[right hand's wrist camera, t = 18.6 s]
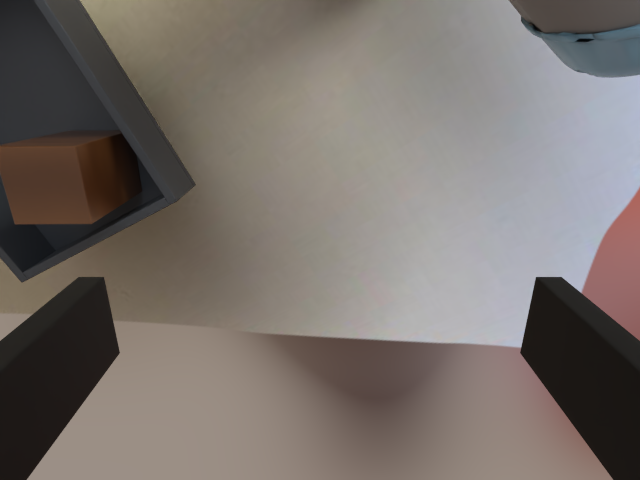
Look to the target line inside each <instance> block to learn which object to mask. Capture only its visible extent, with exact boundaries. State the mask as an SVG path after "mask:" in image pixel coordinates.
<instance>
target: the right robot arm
mask: <svg viewBox="0 0 640 480" xmlns="http://www.w3.org/2000/svg"><path fill="white" fill-rule="evenodd" d="M509 1H510V2H511V3H512V5H513V6H514V7H515V9H516V10H517V11H518V12H519V14H520V15H521V21H522V23H523V24H524V26H525V27H526V29H527V30H528V31H530V32H531V33H532V34H534V35H536V36H538V37H540V38H542V39H543V41H544V42H545V43H546V44H547V45H548V46H549V47H550V48H551V50H552V51H553V52H554V53H555V54H556V55H557V56H558V57H559V58H560V60H561V61H562V62H563V63H564V64H565V65H567V66H568V67H570V68H571V69H573V70H575V71H577V72H582V73H587V74H589V75H594V76H597V77H626V76H634V75H640V0H509ZM119 353H120V352H119V347H118V343H117V338H116V333H115V328H114V323H113V319H112V314H111V309H110V304H109V299H108V295H107V290H106V285H105V280H104V277H78V278H77V279H76V280H75V281H73V282H72V283H71V284H70V285H68V286H67V287H66V288H65V289H63V290H62V291H61V292H60V293H59V294H57V295H56V296H55V297H54V298H52V299H51V300H50V301H49V302H48V303H46V304H45V305H44V306H43V307H41V308H40V309H39V310H38V311H37V312H35V313H34V314H33V315H32V316H30V317H29V318H28V319H27V320H26V321H24V322H23V323H22V324H21V325H19V326H18V327H17V328H16V329H14V330H13V331H12V332H11V333H10V334H8V335H7V336H6V337H5V338H3V339H2V340H1V341H0V480H27V478H28V477H29V476H30V474H31V473H32V472H33V470H34V469H35V467H36V466H37V465H38V463H39V462H40V461H41V459H42V458H43V457H44V455H45V454H46V453H47V451H48V450H49V448H50V447H51V446H52V444H53V443H54V442H55V440H56V439H57V437H58V436H59V435H60V433H61V432H62V431H63V429H64V428H65V427H66V425H67V424H68V423H69V421H70V420H71V419H72V417H73V416H74V414H75V413H76V412H77V410H78V409H79V408H80V406H81V405H82V404H83V402H84V401H85V399H86V398H87V397H88V395H89V394H90V393H91V391H92V390H93V389H94V387H95V386H96V384H97V383H98V382H99V380H100V379H101V378H102V376H103V375H104V374H105V372H106V371H107V370H108V368H109V367H110V365H111V364H112V363H113V361H114V360H115V359H116V357H117V356H118V355H119ZM520 353H521V354H522V356H523V357H524V359H525V360H526V361H527V363H528V364H529V365H530V367H531V368H532V369H533V371H534V372H535V374H536V375H537V376H538V378H539V379H540V380H541V382H542V383H543V384H544V386H545V387H546V389H547V390H548V391H549V393H550V394H551V395H552V397H553V398H554V399H555V401H556V402H557V403H558V405H559V406H560V408H561V409H562V410H563V412H564V413H565V414H566V416H567V417H568V418H569V420H570V421H571V423H572V424H573V425H574V427H575V428H576V429H577V431H578V432H579V433H580V435H581V436H582V438H583V439H584V440H585V442H586V443H587V444H588V446H589V447H590V448H591V450H592V451H593V453H594V454H595V455H596V457H597V458H598V459H599V461H600V462H601V463H602V465H603V466H604V468H605V469H606V470H607V472H608V473H609V474H610V476H611V477H612V478H613V480H640V341H639V340H638V339H637V338H635V337H634V336H633V335H632V334H630V333H629V332H628V331H627V330H625V329H624V328H623V327H622V326H621V325H619V324H618V323H617V322H616V321H615V320H613V319H612V318H611V317H610V316H608V315H607V314H606V313H605V312H603V311H602V310H601V309H600V308H599V307H597V306H596V305H595V304H594V303H592V302H591V301H590V300H589V299H588V298H586V297H585V296H584V295H583V294H581V293H580V292H579V291H578V290H577V289H575V288H574V287H573V286H572V285H570V284H569V283H568V282H567V281H565V280H564V279H563V278H562V277H536V280H535V285H534V290H533V295H532V299H531V304H530V309H529V314H528V319H527V323H526V328H525V333H524V338H523V342H522V347H521V352H520Z"/></svg>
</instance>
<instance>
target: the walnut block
mask: <svg viewBox="0 0 640 480" xmlns="http://www.w3.org/2000/svg"><path fill="white" fill-rule="evenodd" d="M0 174H1V178H2V181H3V185H4V188H5V192H6V195H7V199H8V202H9V206H10V209H11V213H12V216H13V220H14V223H15V224H92V223H94V222H95V221H97V220H99V219H100V218H102V217H103V216H105V215H106V214H108V213H110V212H111V211H113V210H114V209H116V208H117V207H119V206H120V205H122V204H124V203H125V202H127V201H128V200H130V199H131V198H133V197H135V196H136V195H138V194H139V193H141V192H142V186H141V180H140V174H139V168H138V162H137V156H136V153H135V152H134V150H133V149H132V147H131V146H130V144H129V143H128V141H127V140H126V138H125V137H124V135H123V134H122V132H121V131H120V130H73V131H65V132H60V133H55V134H51V135H46V136H41V137H36V138H31V139H26V140H22V141H17V142H12V143H7V144H2V145H0Z"/></svg>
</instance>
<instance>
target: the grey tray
mask: <svg viewBox="0 0 640 480" xmlns="http://www.w3.org/2000/svg"><path fill="white" fill-rule="evenodd" d="M73 130H120V131H121V132H122V134H123V135H124V137H125V138H126V140H127V141H128V143H129V144H130V146H131V147H132V149H133V150H134V152H135V153H136V156H137V162H138V168H139V174H140V180H141V186H142V192H141V193H139V194H138V195H136V196H135V197H133V198H131V199H130V200H128V201H127V202H125V203H124V204H122V205H120V206H119V207H117V208H116V209H114V210H113V211H111V212H110V213H108V214H106V215H105V216H103V217H102V218H100V219H99V220H97V221H95V222H94V223H92V224H15V223H14V220H13V216H12V213H11V209H10V206H9V202H8V199H7V195H6V192H5V188H4V185H3V181H2V178H1V174H0V258H1V259H2V260H3V261H4V263H5V264H6V265H7V266H8V267H9V268H10V269H11V271H12V272H13V273H14V274H15V275H16V276H17V278H18V279H19V280H20V281H21V282H24V281H26V280H28V279H30V278H32V277H34V276H36V275H38V274H39V273H41V272H43V271H45V270H47V269H49V268H51V267H53V266H55V265H57V264H58V263H60V262H62V261H64V260H66V259H68V258H70V257H72V256H74V255H76V254H78V253H79V252H81V251H83V250H85V249H87V248H89V247H91V246H93V245H95V244H97V243H98V242H100V241H102V240H104V239H106V238H108V237H110V236H112V235H114V234H116V233H117V232H119V231H121V230H123V229H125V228H127V227H129V226H131V225H133V224H135V223H137V222H138V221H140V220H142V219H144V218H146V217H148V216H150V215H152V214H154V213H156V212H157V211H159V210H161V209H163V208H165V207H167V206H169V205H170V204H173V203H175V202H176V201H178V200H179V199H180V198H181V197H182V196H183V195H185V194H186V193H187V192H188V191H189V190H190V189H192V188H193V187H194V186H195V185H196V184H195V183H194V181H193V179H192V178H191V176H190V175H189V173H188V171H187V170H186V168H185V167H184V165H183V163H182V162H181V160H180V159H179V157H178V156H177V154H176V152H175V151H174V149H173V148H172V146H171V144H170V143H169V141H168V140H167V138H166V137H165V135H164V133H163V132H162V130H161V129H160V127H159V125H158V124H157V122H156V121H155V119H154V117H153V116H152V114H151V113H150V111H149V110H148V108H147V106H146V105H145V103H144V102H143V100H142V98H141V97H140V95H139V94H138V92H137V91H136V89H135V87H134V86H133V84H132V83H131V81H130V79H129V78H128V76H127V75H126V73H125V71H124V70H123V68H122V67H121V65H120V64H119V62H118V60H117V59H116V57H115V56H114V54H113V52H112V51H111V49H110V48H109V46H108V45H107V43H106V41H105V40H104V38H103V37H102V35H101V33H100V32H99V30H98V29H97V27H96V25H95V24H94V22H93V21H92V19H91V18H90V16H89V14H88V13H87V11H86V10H85V8H84V6H83V5H82V3H81V2H80V0H0V145H2V144H7V143H12V142H17V141H22V140H26V139H31V138H36V137H41V136H46V135H51V134H55V133H60V132H65V131H73Z"/></svg>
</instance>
